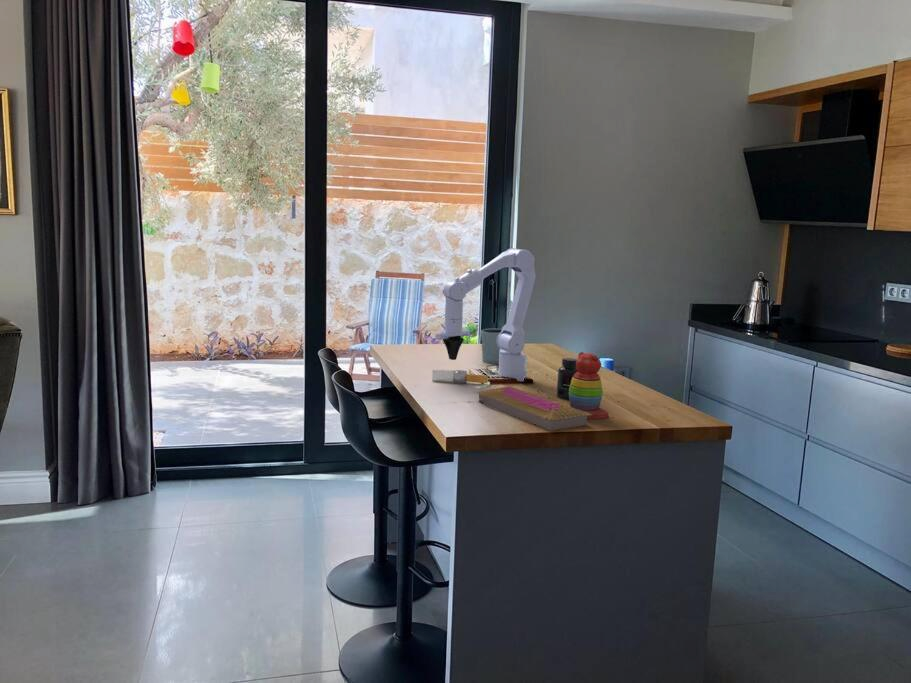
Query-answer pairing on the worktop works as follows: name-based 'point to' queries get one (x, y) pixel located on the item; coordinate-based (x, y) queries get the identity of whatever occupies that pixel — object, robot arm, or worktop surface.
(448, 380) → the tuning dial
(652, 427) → the worktop surface
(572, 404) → the stacking bear
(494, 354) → the grey cylinder
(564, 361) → the supplement bottle
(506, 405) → the rafter model
